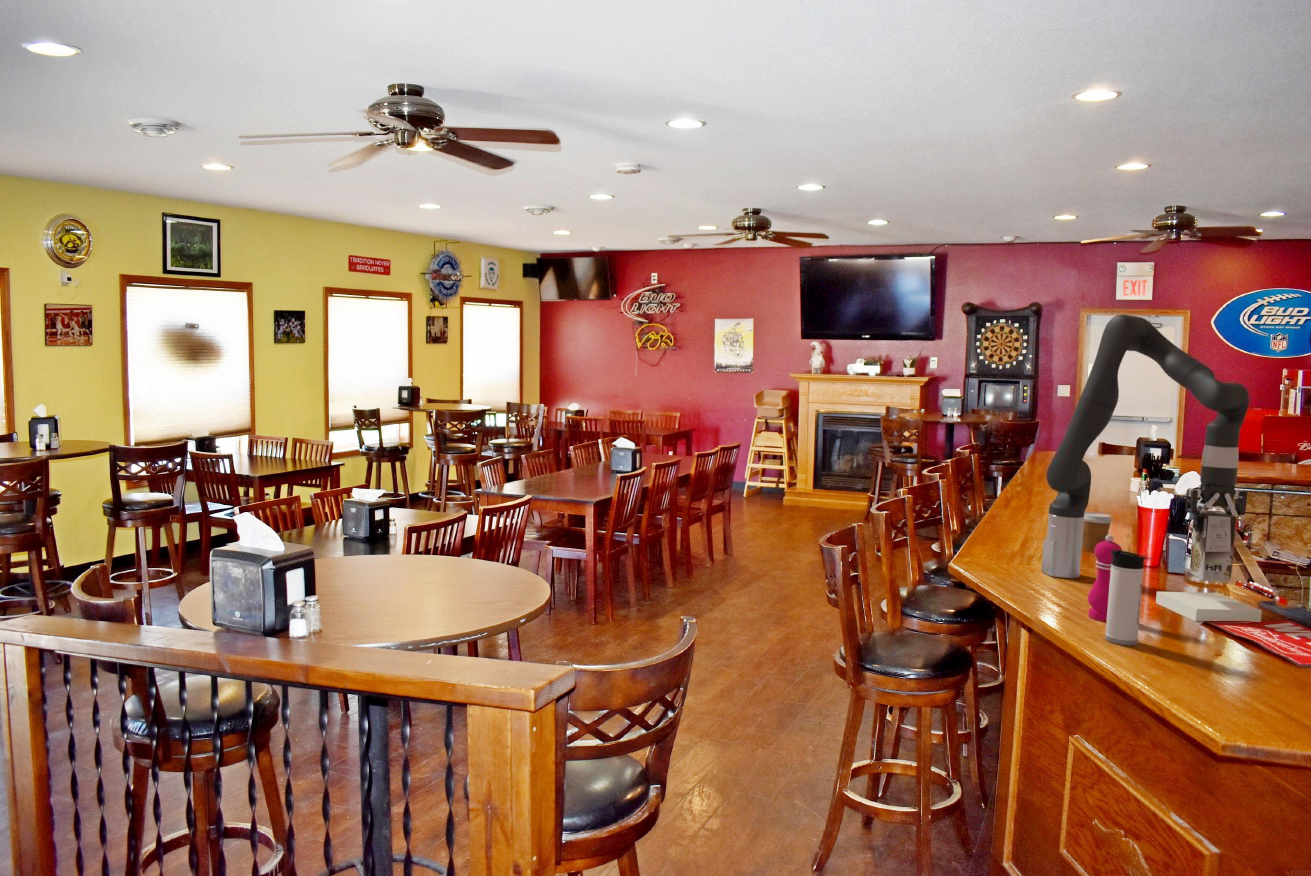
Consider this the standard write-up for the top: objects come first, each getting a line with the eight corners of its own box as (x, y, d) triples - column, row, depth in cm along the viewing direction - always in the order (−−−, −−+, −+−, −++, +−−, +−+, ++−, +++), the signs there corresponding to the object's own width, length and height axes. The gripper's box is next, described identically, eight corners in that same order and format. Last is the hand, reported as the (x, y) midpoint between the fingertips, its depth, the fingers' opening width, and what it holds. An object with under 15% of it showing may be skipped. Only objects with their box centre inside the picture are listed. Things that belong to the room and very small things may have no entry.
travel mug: (1097, 636, 203) (1105, 547, 201) (1126, 637, 204) (1133, 547, 202) (1114, 645, 197) (1121, 553, 195) (1143, 646, 198) (1151, 554, 196)
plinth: (1195, 621, 219) (1196, 608, 219) (1155, 602, 235) (1156, 591, 235) (1260, 622, 220) (1261, 610, 219) (1216, 604, 236) (1217, 592, 235)
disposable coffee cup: (1111, 550, 301) (1114, 514, 300) (1107, 555, 293) (1110, 518, 292) (1079, 546, 306) (1082, 510, 305) (1075, 551, 298) (1077, 514, 297)
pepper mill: (1118, 624, 214) (1125, 539, 212) (1084, 618, 218) (1090, 535, 216) (1121, 617, 220) (1128, 534, 218) (1088, 612, 224) (1094, 530, 222)
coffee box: (1231, 583, 222) (1237, 516, 220) (1202, 580, 223) (1208, 514, 221) (1216, 574, 230) (1222, 510, 229) (1188, 572, 232) (1194, 508, 230)
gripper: (1237, 463, 228) (1231, 529, 230) (1181, 462, 227) (1175, 528, 229) (1258, 467, 221) (1252, 535, 222) (1200, 465, 220) (1194, 534, 221)
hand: (1213, 531), depth 226 cm, fingers closed on coffee box, 7 cm apart
